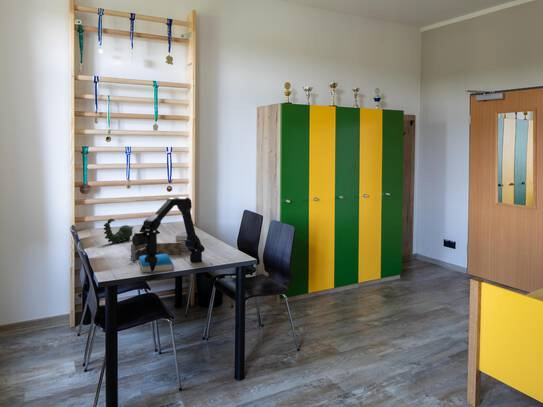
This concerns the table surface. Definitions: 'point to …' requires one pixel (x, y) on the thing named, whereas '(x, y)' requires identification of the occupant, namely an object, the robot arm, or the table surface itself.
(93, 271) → the table surface
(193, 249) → the robot arm
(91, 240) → the table surface
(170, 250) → the shelf wall
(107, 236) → the toy figurine
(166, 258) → the book
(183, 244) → the can
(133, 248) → the bookend
